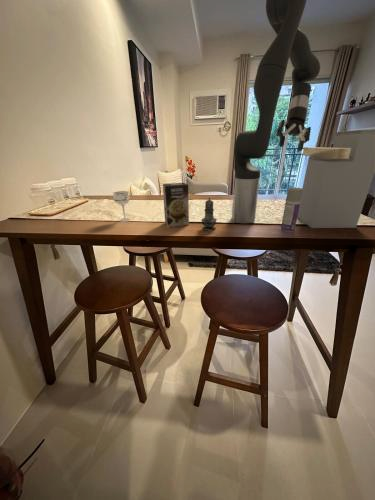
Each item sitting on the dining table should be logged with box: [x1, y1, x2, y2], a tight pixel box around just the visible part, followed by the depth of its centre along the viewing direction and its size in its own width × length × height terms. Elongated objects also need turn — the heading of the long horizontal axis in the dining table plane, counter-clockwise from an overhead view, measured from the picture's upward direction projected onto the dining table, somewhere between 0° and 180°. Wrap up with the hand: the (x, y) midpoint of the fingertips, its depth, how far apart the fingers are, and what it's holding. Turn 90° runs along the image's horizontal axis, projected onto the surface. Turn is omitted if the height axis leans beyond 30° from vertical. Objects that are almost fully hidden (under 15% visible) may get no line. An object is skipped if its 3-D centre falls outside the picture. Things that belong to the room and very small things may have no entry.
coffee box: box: [162, 182, 190, 228], centre depth 85 cm, size 9×6×16 cm
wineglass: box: [112, 190, 131, 223], centre depth 93 cm, size 7×7×12 cm
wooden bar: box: [301, 146, 351, 159], centre depth 78 cm, size 4×24×3 cm, turn 177°
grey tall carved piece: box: [201, 197, 218, 232], centre depth 80 cm, size 6×6×12 cm
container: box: [280, 187, 303, 233], centre depth 76 cm, size 5×5×15 cm
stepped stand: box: [297, 128, 375, 229], centre depth 79 cm, size 16×14×32 cm
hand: (290, 148), depth 93 cm, fingers open, 8 cm apart
